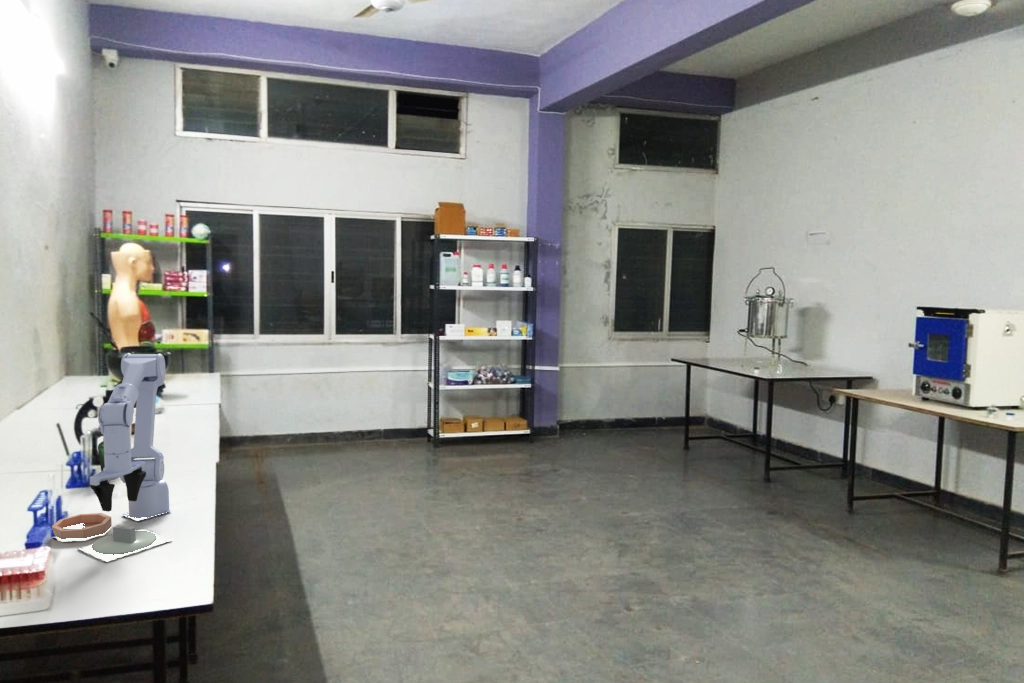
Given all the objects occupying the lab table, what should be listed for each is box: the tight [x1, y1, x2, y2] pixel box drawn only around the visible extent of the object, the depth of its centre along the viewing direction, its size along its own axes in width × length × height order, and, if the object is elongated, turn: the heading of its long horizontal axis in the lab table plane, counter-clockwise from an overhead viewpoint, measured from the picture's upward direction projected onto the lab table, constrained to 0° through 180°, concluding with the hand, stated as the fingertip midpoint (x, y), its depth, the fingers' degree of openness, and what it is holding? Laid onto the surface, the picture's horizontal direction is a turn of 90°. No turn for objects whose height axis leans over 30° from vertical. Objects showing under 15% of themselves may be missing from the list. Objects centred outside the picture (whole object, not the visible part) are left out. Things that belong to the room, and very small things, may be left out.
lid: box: [92, 524, 156, 555], centre depth 173 cm, size 14×14×4 cm
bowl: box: [51, 512, 113, 539], centre depth 180 cm, size 12×12×3 cm
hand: (119, 505), depth 174 cm, fingers open, 7 cm apart
